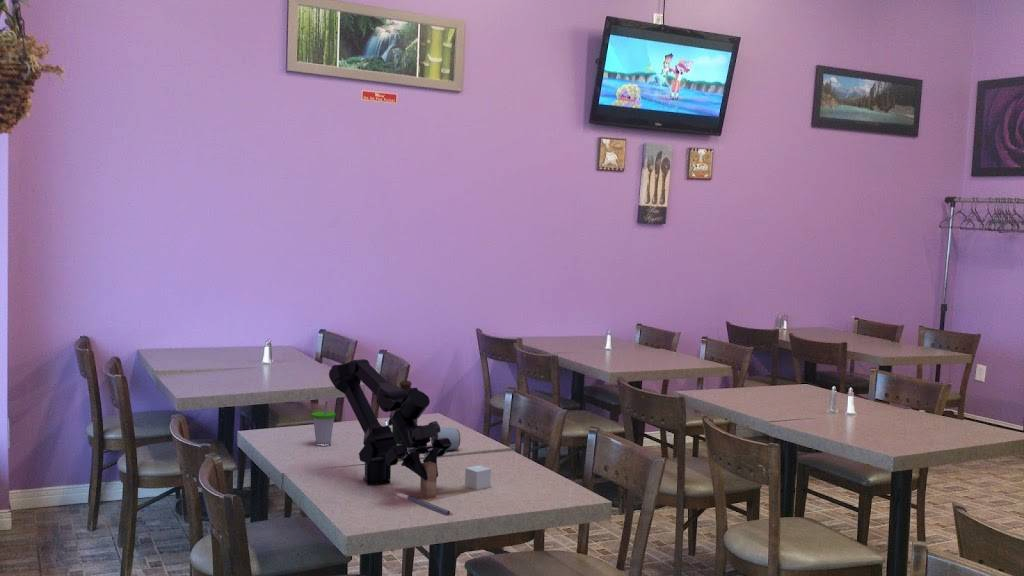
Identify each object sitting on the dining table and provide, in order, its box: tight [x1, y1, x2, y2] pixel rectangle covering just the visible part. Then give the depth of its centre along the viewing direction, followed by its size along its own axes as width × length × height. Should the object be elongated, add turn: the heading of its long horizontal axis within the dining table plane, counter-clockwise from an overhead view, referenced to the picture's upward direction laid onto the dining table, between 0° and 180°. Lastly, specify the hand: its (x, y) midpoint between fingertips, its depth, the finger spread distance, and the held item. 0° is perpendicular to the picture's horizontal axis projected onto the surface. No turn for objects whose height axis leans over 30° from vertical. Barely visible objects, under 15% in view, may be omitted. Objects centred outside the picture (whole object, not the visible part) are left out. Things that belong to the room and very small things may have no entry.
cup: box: [311, 401, 337, 445], centre depth 313 cm, size 8×8×15 cm
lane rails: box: [406, 495, 451, 516], centre depth 256 cm, size 17×25×1 cm
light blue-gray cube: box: [464, 464, 492, 491], centre depth 264 cm, size 5×5×5 cm
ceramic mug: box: [430, 426, 461, 451], centre depth 312 cm, size 11×8×8 cm
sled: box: [415, 462, 493, 502], centre depth 259 cm, size 6×22×10 cm, turn 132°
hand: (431, 478), depth 252 cm, fingers closed on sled, 3 cm apart
